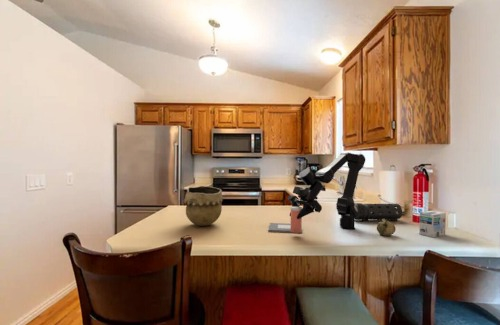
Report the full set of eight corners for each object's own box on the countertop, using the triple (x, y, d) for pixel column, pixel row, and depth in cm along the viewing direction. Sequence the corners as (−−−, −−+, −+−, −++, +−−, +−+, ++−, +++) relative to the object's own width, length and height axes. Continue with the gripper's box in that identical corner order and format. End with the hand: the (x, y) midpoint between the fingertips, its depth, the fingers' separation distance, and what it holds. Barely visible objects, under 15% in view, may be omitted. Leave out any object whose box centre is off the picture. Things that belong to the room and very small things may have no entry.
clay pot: (231, 227, 138) (231, 188, 137) (192, 233, 126) (192, 191, 125) (213, 219, 155) (213, 184, 155) (177, 223, 143) (177, 186, 143)
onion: (396, 238, 121) (397, 220, 121) (377, 236, 124) (377, 219, 124) (394, 234, 128) (394, 217, 128) (375, 232, 131) (376, 216, 131)
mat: (299, 225, 141) (299, 223, 141) (301, 233, 128) (301, 231, 128) (269, 224, 143) (269, 222, 143) (268, 231, 130) (268, 229, 130)
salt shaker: (301, 229, 125) (301, 206, 124) (301, 232, 120) (302, 208, 119) (290, 229, 125) (290, 206, 125) (290, 232, 120) (290, 208, 120)
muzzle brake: (402, 222, 153) (402, 204, 152) (355, 222, 150) (355, 204, 150) (392, 218, 162) (392, 201, 162) (347, 219, 160) (348, 201, 160)
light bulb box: (433, 237, 123) (433, 214, 123) (418, 234, 129) (418, 211, 129) (446, 235, 128) (446, 212, 128) (431, 231, 134) (431, 210, 134)
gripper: (290, 178, 132) (272, 202, 127) (317, 181, 116) (297, 209, 111) (303, 193, 136) (285, 217, 131) (330, 198, 120) (311, 226, 115)
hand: (293, 217), depth 122 cm, fingers closed on salt shaker, 5 cm apart
